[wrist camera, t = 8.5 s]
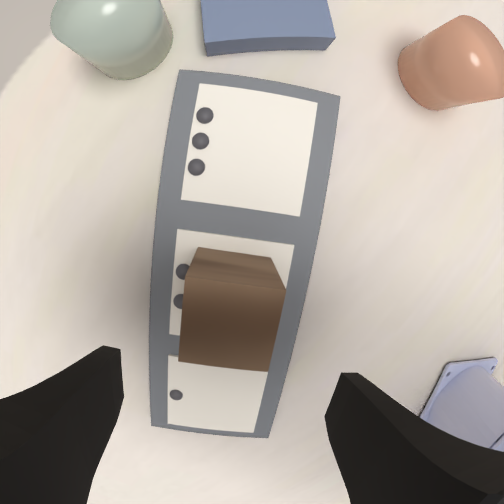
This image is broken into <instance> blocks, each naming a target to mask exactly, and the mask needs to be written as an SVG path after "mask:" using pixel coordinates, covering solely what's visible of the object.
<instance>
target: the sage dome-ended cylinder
mask: <svg viewBox="0 0 504 504" xmlns="http://www.w3.org/2000/svg"><path fill="white" fill-rule="evenodd" d="M50 25H51V30H52V33H53V35H54V36H55V38H56V39H57V40H59V41H60V42H61V43H63V44H64V45H66V46H67V47H69V48H70V49H71V50H73V51H74V52H76V53H77V54H78V55H80V56H81V57H82V58H84V59H85V60H87V61H88V62H89V63H91V64H92V65H93V66H95V67H96V68H98V69H99V70H100V71H102V72H103V73H104V74H106V75H107V76H109V77H111V78H114V79H118V80H129V79H135V78H138V77H141V76H143V75H145V74H147V73H149V72H151V71H152V70H154V69H155V68H156V67H157V66H158V65H159V64H160V63H161V62H162V61H163V60H164V59H165V58H166V56H167V54H168V53H169V51H170V49H171V46H172V42H173V31H172V28H171V25H170V23H169V20H168V18H167V16H166V13H165V11H164V8H163V6H162V4H161V1H160V0H57V2H56V4H55V6H54V8H53V11H52V14H51V22H50Z"/></svg>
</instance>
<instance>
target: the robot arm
mask: <svg viewBox="0 0 504 504" xmlns="http://www.w3.org/2000/svg"><path fill="white" fill-rule="evenodd" d="M497 362H498V360H497V359H496V358H488V359H481V360H472V361H463V362H453V363H449V364H447V365H446V367H445V369H444V371H443V373H442V375H441V377H440V379H439V381H438V383H437V385H436V387H435V389H434V391H433V393H432V395H431V397H430V399H429V401H428V403H427V405H426V406H425V408H424V410H423V412H422V414H421V415H420V417H418V416H417V415H415V414H414V413H412V412H411V411H409V410H408V409H406V408H405V407H403V406H402V405H401V404H399V403H398V402H396V401H395V400H394V399H392V398H391V397H390V396H388V395H387V394H386V393H384V392H383V391H382V390H381V389H379V388H378V387H377V386H375V385H374V384H373V383H371V382H370V381H369V380H367V379H366V378H364V377H363V376H362V375H360V374H358V373H341V375H340V377H339V380H338V383H337V386H336V388H335V391H334V394H333V396H332V399H331V401H330V404H329V406H328V409H327V411H326V414H325V421H326V427H327V432H328V437H329V441H330V444H331V447H332V450H333V453H334V455H335V458H336V461H337V464H338V466H339V469H340V472H341V475H342V477H343V480H344V483H345V486H346V488H347V492H348V495H349V498H350V503H351V504H504V386H503V385H502V384H501V383H499V382H498V381H497V380H496V379H495V378H494V377H493V376H492V373H493V371H494V369H495V366H496V364H497ZM123 398H124V391H123V381H122V368H121V352H120V349H117V348H113V347H108V346H101V347H99V348H98V349H96V350H95V351H93V352H91V353H90V354H88V355H87V356H85V357H84V358H82V359H80V360H79V361H77V362H76V363H74V364H72V365H71V366H69V367H67V368H66V369H64V370H63V371H61V372H59V373H57V374H55V375H54V376H52V377H50V378H48V379H46V380H44V381H42V382H41V383H39V384H37V385H35V386H33V387H31V388H28V389H26V390H24V391H22V392H19V393H17V394H14V395H11V396H9V397H6V398H3V399H0V504H87V500H88V496H89V492H90V488H91V484H92V480H93V477H94V474H95V472H96V469H97V467H98V464H99V462H100V459H101V457H102V455H103V452H104V450H105V448H106V446H107V443H108V441H109V439H110V436H111V434H112V432H113V429H114V427H115V425H116V422H117V419H118V416H119V413H120V409H121V406H122V402H123Z"/></svg>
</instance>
